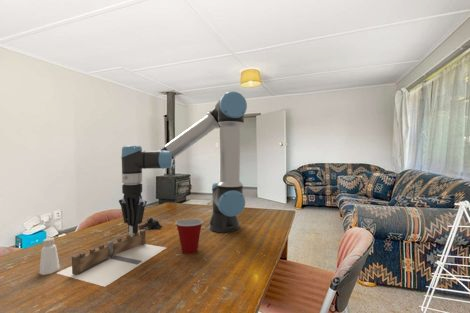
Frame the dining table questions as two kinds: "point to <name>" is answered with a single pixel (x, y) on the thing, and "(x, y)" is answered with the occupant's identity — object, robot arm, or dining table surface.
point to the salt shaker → (49, 257)
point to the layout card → (115, 265)
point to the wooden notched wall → (126, 243)
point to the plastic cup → (189, 234)
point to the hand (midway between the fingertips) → (133, 240)
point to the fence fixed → (88, 259)
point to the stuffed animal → (151, 224)
